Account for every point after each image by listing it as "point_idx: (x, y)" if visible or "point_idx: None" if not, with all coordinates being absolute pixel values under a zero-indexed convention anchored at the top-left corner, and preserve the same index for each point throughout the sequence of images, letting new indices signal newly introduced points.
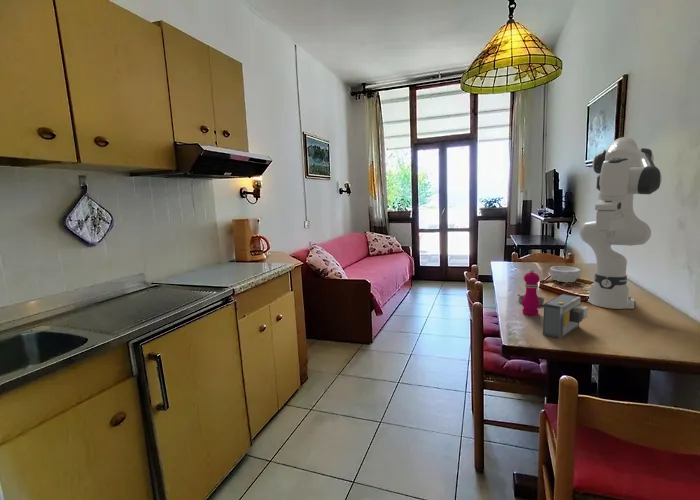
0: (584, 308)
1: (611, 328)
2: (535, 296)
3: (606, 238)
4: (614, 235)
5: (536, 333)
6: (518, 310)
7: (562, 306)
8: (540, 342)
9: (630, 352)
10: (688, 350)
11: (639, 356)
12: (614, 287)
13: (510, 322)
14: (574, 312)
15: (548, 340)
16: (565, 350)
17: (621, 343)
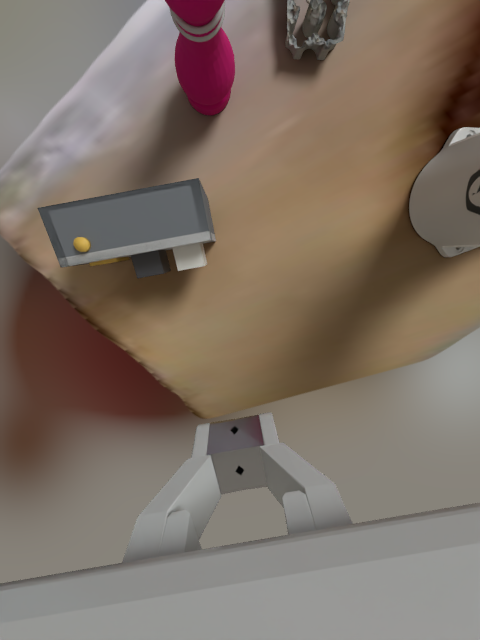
0: (184, 267)
1: (259, 289)
2: (198, 69)
3: (193, 451)
4: (281, 503)
5: None
6: None
7: (67, 260)
8: None
9: (163, 360)
10: (248, 402)
11: (158, 374)
12: (477, 215)
13: (89, 103)
14: (134, 266)
15: None
16: (66, 295)
17: (191, 336)
